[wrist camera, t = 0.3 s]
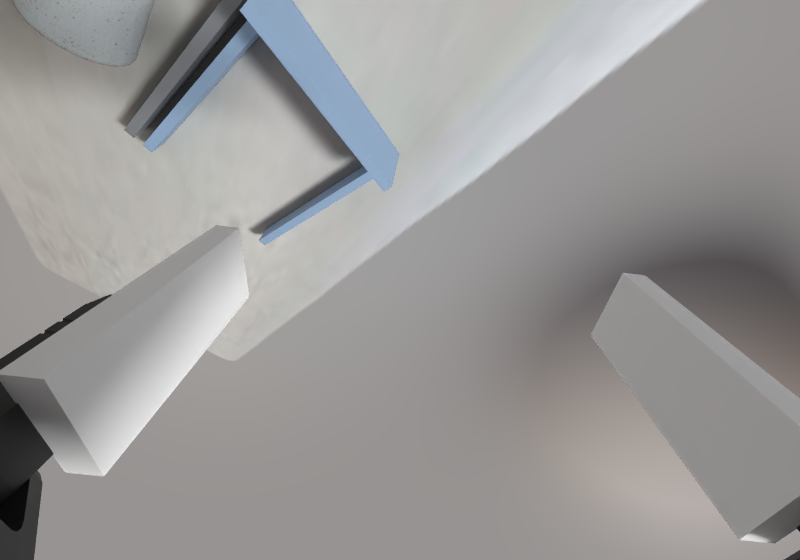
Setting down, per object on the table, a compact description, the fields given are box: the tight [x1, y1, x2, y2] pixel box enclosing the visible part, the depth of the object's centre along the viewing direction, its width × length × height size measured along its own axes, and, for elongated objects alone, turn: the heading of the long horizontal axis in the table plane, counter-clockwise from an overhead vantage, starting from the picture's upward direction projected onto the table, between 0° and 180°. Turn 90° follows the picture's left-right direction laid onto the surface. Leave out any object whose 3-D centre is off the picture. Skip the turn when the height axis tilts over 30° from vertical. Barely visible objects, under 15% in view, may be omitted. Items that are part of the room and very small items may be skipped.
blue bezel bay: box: [143, 0, 399, 245], centre depth 35 cm, size 23×17×7 cm
